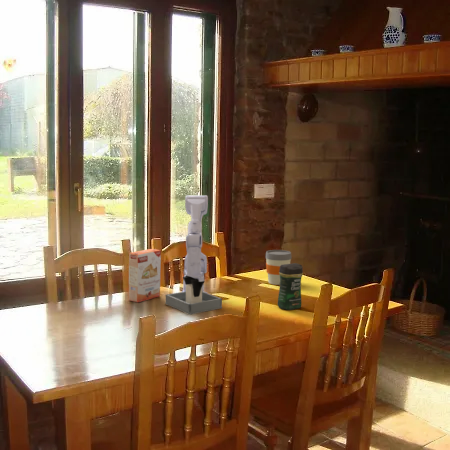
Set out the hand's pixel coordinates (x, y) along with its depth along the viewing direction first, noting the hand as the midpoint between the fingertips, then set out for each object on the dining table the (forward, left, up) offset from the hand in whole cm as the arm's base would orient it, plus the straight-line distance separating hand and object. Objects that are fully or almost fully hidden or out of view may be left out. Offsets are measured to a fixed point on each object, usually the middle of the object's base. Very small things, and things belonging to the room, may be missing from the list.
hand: (193, 294), depth 249 cm
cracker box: (-21, -11, -5) cm, 24 cm away
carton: (0, 0, -4) cm, 4 cm away
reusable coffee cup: (-11, +57, -5) cm, 58 cm away
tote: (0, 0, -5) cm, 5 cm away
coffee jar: (+24, +32, -5) cm, 40 cm away
